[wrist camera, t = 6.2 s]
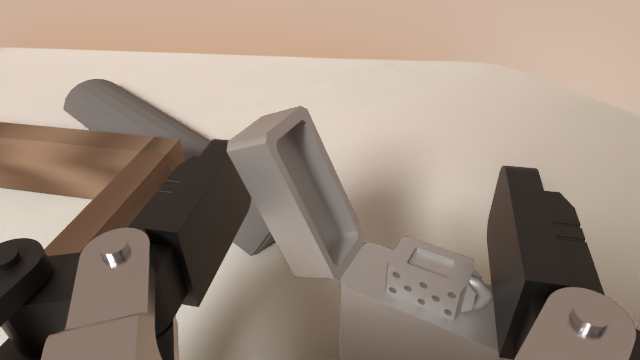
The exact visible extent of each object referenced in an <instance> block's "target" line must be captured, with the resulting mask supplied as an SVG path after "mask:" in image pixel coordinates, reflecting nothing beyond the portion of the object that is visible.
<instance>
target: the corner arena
mask: <svg viewBox="0 0 640 360" xmlns="http://www.w3.org/2000/svg"><path fill="white" fill-rule="evenodd" d="M184 161H185V158H184V154H183V150H182V146H181V142H180V139H173V138H163V137H152V136H141V135H131V134H120V133H110V132H99V131H88V130H78V129H67V128H56V127H46V126H35V125H24V124H14V123H3V122H0V188H8V189H16V190H24V191H32V192H40V193H47V194H55V195H63V196H71V197H79V198H87V199H93V200H92V201H91V202H90V203H89V204H88V205H87V206H86V207H85V208H84V209H83V210H82V211H81V213H80V214H79V215H78V216H77V217H76V218H75V219H74V220H73V221H72V222H71V223H70V224H69V225H68V226H67V227H66V228H65V229H64V230H63V231H62V232H61V233H60V234H59V235H58V236H57V237H56V238H55V239H54V240H53V241H52V242H51V243H50V244H49V245H48V246H47V247H46V248H45V249H44V251H45V253H46V255H47V256H53V255H62V254H70V253H79V252H82V251H83V249H84V248H85V246H86V245H87V244H88V243H89V242H90V241H92V240H93V239H94V238H96V237H97V236H99V235H101V234H103V233H105V232H108V231H111V230H114V229H119V228H128V226H129V225H130V224H131V223H132V221H133V220H134V219H135V218H136V216H137V215H138V214H139V213H140V211H141V210H142V209H143V208H144V206H145V205H146V204H147V203H148V201H149V200H150V199H151V198H152V197H153V195H154V194H155V193H156V192H158V189H159V188H160V187H161V185H162V184H163V183H164V182H166V181H167V178H168V177H169V175H170V174H171V173H172V172H173V170H174V169H175V168H176V167H177V166H178V165H180V164H181V163H183V162H184Z"/></svg>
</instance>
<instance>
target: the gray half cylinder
mask: <svg viewBox="0 0 640 360" xmlns="http://www.w3.org/2000/svg"><path fill="white" fill-rule="evenodd" d="M64 110H65V111H66V112H67V113H69V114H70V115H71V116H73V117H74V118H75V119H76V120H78V121H79V122H80V123H82V124H83V125H84V126H85V127H87V128H88V129H89V130H90V131H99V132H110V133H120V134H131V135H141V136H152V137H163V138H173V139H180V142H181V146H182V150H183V154H184V158H185V161H186V160H187V159H189V158H191V157H192V156H200V155H201V154H202V152H203V151H204V150H205V148H206V147H207V146H208V144H209V143H210V142H211V141H210V140H208V139H206V138H205V137H203V136H201V135H200V134H198V133H196V132H195V131H193V130H191V129H189V128H188V127H186V126H184V125H183V124H181V123H179V122H178V121H176V120H174V119H173V118H171V117H169V116H168V115H166V114H164V113H163V112H161V111H159V110H158V109H156V108H154V107H153V106H151V105H149V104H148V103H146V102H144V101H143V100H141V99H139V98H138V97H136V96H134V95H133V94H131V93H129V92H128V91H126V90H124V89H123V88H121V87H119V86H118V85H116V84H114V83H113V82H110V81H107V80H103V79H92V80H87V81H84V82H82V83H80V84H78V85H77V86H76V87H74V88H73V89H72V90H71V91H70V92H69V94H68V96H67V97H66V99H65V104H64ZM274 241H275V240H274V238H273V236H272V234H271V232H270V230H269V229H268V227H267V225H266V223H265V221H264V219H263V218H262V216H261V214H260V212H259V210H258V208H257V207H256V205H255V203H254V201H253V199H252V198H251V204H250V208H249V211H248V213H247V215H246V217H245V219H244V221H243V223H242V225H241V227H240V228H239V230H238V232H237V234H236V236H235V238H234V240H233V242H234V243H235V244H236V245H238V246H239V247H240V248H241V249H243V250H244V251H245V252H247V253H248V254H249V255H250V256H251V255H252V254H254V253H255V254H257V253H258V252H260V251H261V250H263V249H264V248H266V247H267V246H268V245H270V244H271V243H273V242H274Z"/></svg>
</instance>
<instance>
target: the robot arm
mask: <svg viewBox="0 0 640 360" xmlns="http://www.w3.org/2000/svg"><path fill="white" fill-rule="evenodd" d="M228 141H229V140H219V139H213V140H212V141H211V142H210V143H209V144H208V146H207V147H206V148H205V150H204V151H203V152H202V154H201V155H200V156H192V157H191V158H189V159H187V160H186V161H184V162H183V163H181V164H180V165H178V166H177V167H176V168H175V169H174V170H173V172H172V173H171V174H170V175H169V177H168V178H167V181H166V182H164V183H163V184H162V185H161V187H160V188H159V189H158V192H156V193H155V194H154V195H153V197H152V198H151V199H150V200H149V201H148V203H147V204H146V205H145V206H144V208H143V209H142V210H141V211H140V213H139V214H138V215H137V216H136V218H135V219H134V220H133V221H132V223H131V224H130V225H129V226H128V228H119V229H114V230H111V231H108V232H105V233H103V234H101V235H99V236H97V237H96V238H94V239H93V240H92V241H90V242H89V243H88V244H87V245H86V246H85V248H84V249H83V251H82V252H79V253H70V254H62V255H53V256H47V255H46V253H45V251H44V249H43V247H42V245H41V244H40V243H39V242H38V241H36V240H33V239H28V238H20V239H13V240H9V241H6V242H3V243H0V327H2V329H3V330H4V331H5V333H6V334H7V336H8V337H9V338H8V339H7V340H6V341H5V342H4V343H3V344H2V345H1V346H0V360H179V346H178V323H177V319H176V316H175V315H176V313H177V311H178V310H179V308H180V306H181V304H184V305H190V306H196V307H199V306H200V304H201V302H202V300H203V298H204V296H205V294H206V292H207V290H208V288H209V286H210V284H211V282H212V280H213V279H214V277H215V275H216V273H217V271H218V269H219V267H220V265H221V263H222V261H223V259H224V257H225V255H226V254H227V252H228V250H229V248H230V246H231V244H232V242H233V240H234V238H235V236H236V234H237V232H238V230H239V228H240V227H241V225H242V223H243V221H244V219H245V217H246V215H247V213H248V211H249V208H250V204H251V198H252V197H251V196H250V194H249V192H248V190H247V188H246V186H245V184H244V183H243V181H242V179H241V177H240V175H239V173H238V172H237V170H236V168H235V166H234V164H233V162H232V161H231V159H230V157H229V155H228V153H227V145H228ZM487 245H488V254H489V264H490V274H491V284H492V293H493V303H494V313H495V322H496V332H497V342H498V352H499V357H500V358H506V359H512V360H640V331H639V330H637V329H635V326H634V323H633V322H632V320H631V318H630V317H629V315H628V314H627V313H626V311H625V310H624V309H623V308H622V307H621V306H619V305H618V304H617V303H616V302H614V301H613V300H611V299H610V298H608V297H606V296H605V295H604V292H603V289H602V286H601V283H600V280H599V277H598V274H597V272H596V269H595V266H594V263H593V260H592V257H591V254H590V251H589V248H588V245H587V243H585V237H584V234H583V231H582V228H580V222H579V219H578V217H577V214H576V211H575V208H574V207H573V206H572V205H571V204H570V203H569V202H568V201H567V200H566V199H565V198H564V197H563V196H562V194H561V193H560V192H550V191H544V189H543V186H542V182H541V179H540V175H539V172H538V170H537V169H536V168H525V167H514V166H502V168H501V170H500V173H499V177H498V181H497V185H496V190H495V194H494V198H493V202H492V206H491V210H490V214H489V219H488V227H487Z"/></svg>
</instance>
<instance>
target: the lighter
mask: <svg viewBox="0 0 640 360" xmlns="http://www.w3.org/2000/svg"><path fill="white" fill-rule="evenodd" d="M227 153H228V155H229V157H230V159H231V161H232V162H233V164H234V166H235V168H236V170H237V172H238V173H239V175H240V177H241V179H242V181H243V183H244V184H245V186H246V188H247V190H248V192H249V194H250V196H251V197H252V199H253V201H254V203H255V205H256V207H257V208H258V210H259V212H260V214H261V216H262V218H263V219H264V221H265V223H266V225H267V227H268V229H269V230H270V232H271V234H272V236H273V238H274V240H275V242H276V243H277V245H278V247H279V249H280V251H281V253H282V254H283V256H284V258H285V260H286V262H287V264H288V265H289V267H290V269H291V271H292V273H293V275H294V276H295V277H307V278H331V279H340V282H339V360H508V359H506V358H500V357H499V352H498V342H497V332H496V322H495V313H494V303H493V293H492V286H491V285H488V284H485V283H484V282H483V281H482V278H481V276H480V275H479V274H478V273H477V272H476V270H475V269H474V259H471V258H468V257H465V256H462V255H459V254H456V253H454V252H451V251H448V250H445V249H442V248H439V247H436V246H433V245H431V244H428V243H425V242H422V241H419V240H416V239H413V238H410V237H407V236H405V237H402V238H401V240H400V241H399V243H398V244H397V246H396V248H395V249H394V250H392V249H389V248H386V247H384V246H381V245H378V244H375V243H373V242H371V243H366V244H364V236H365V235H364V233H363V231H362V228H361V226H360V224H359V222H358V220H357V217H356V215H355V213H354V211H353V209H352V206H351V204H350V202H349V200H348V198H347V195H346V193H345V191H344V189H343V187H342V185H341V182H340V180H339V178H338V176H337V174H336V171H335V169H334V167H333V165H332V163H331V160H330V158H329V156H328V154H327V152H326V149H325V147H324V145H323V143H322V141H321V138H320V136H319V134H318V132H317V130H316V127H315V125H314V123H313V121H312V119H311V116H310V114H309V112H308V110H307V109H306V108H304V107H302V106H299V107H295V108H291V109H287V110H284V111H280V112H276V113H273V114H269V115H265V116H262V117H261V118H259V119H258V120H256V121H255V122H254V123H252V124H251V125H250V126H248V127H247V128H246V129H244V130H243V131H242V132H240V133H239V134H238V135H236V136H235V137H234V138H232V139H231V140H229V141H228V145H227Z"/></svg>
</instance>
